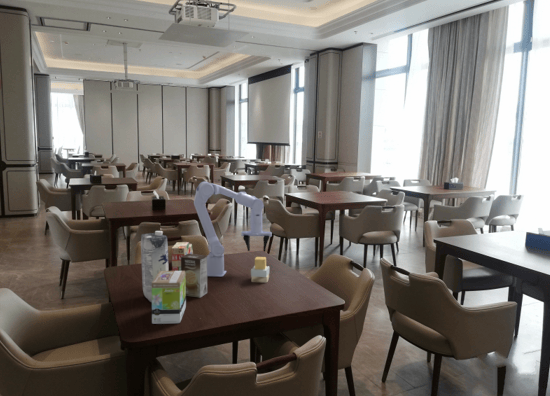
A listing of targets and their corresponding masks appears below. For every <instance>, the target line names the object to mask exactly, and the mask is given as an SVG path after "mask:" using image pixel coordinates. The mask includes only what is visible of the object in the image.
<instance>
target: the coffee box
mask: <svg viewBox="0 0 550 396" xmlns="http://www.w3.org/2000/svg"><path fill="white" fill-rule="evenodd" d="M207 256H208V255H204V254H197V253H193V254H189V253H188V254H186V255H184V256H182V257H181V271H185V279H186V297H191V298H192V297H194V298H202V297H203V296H205V295H206V294H208V276H207Z"/></svg>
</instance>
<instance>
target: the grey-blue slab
mask: <svg viewBox="0 0 550 396" xmlns="http://www.w3.org/2000/svg"><path fill="white" fill-rule="evenodd" d="M268 274H269V275H270V266H269V265H268V266H267V265H266V268H265V269H255V265H254V266H253V267H252V268H251V269H250V277H252V276H255V277H267V275H268Z"/></svg>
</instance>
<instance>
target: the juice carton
mask: <svg viewBox="0 0 550 396" xmlns="http://www.w3.org/2000/svg"><path fill="white" fill-rule="evenodd" d="M163 233H164V231H162V230H155V231H154V232H153V233H152V232H149V233H141V235H140V238H141V239H140V252H141V253H140V256H141V259H140V260H141V278H142V279H141V281H142V282H141V284H142V291H143V295H144V297H145V298H146V299H147V300H148V301H149V302H150V303H152V282H153V280H154V279H155V277H156V276H157V274H158V273H159V271H170V270H169V268H170V267H169V248H168V247H169V246H168V236H167V235H164V234H163Z"/></svg>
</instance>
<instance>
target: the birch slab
mask: <svg viewBox="0 0 550 396" xmlns="http://www.w3.org/2000/svg"><path fill="white" fill-rule="evenodd" d="M269 279H270V273H269V274H268V275H267V277H255V276H251V283H268V282H269Z"/></svg>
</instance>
